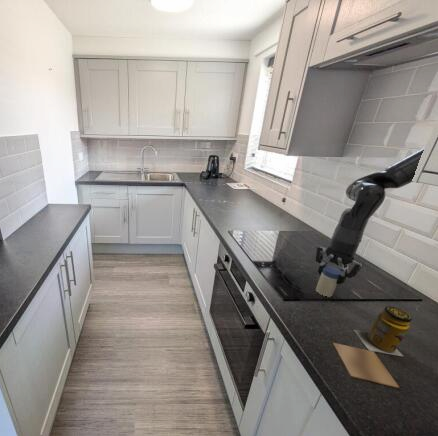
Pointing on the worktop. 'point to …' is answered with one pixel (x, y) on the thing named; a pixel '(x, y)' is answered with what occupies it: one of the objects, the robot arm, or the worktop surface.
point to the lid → (331, 272)
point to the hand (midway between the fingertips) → (329, 278)
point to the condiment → (386, 331)
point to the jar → (326, 285)
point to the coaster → (364, 365)
